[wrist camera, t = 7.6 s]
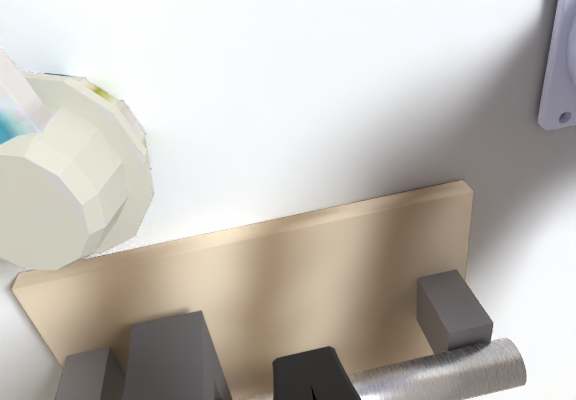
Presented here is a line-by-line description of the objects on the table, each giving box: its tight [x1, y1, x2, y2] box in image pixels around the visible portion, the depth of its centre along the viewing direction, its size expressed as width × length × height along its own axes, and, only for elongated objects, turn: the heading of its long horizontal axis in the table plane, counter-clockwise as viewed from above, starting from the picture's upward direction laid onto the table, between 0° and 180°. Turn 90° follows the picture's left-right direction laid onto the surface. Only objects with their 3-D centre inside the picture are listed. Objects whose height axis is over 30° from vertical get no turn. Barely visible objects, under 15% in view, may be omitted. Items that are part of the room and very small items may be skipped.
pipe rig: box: [11, 180, 526, 400], centre depth 22 cm, size 20×12×7 cm, turn 98°
